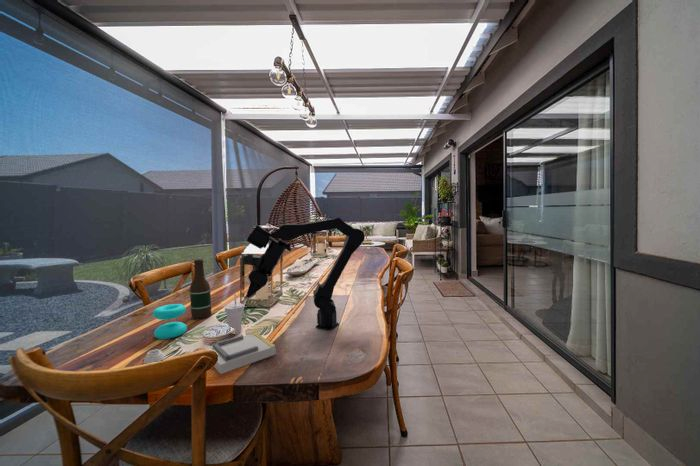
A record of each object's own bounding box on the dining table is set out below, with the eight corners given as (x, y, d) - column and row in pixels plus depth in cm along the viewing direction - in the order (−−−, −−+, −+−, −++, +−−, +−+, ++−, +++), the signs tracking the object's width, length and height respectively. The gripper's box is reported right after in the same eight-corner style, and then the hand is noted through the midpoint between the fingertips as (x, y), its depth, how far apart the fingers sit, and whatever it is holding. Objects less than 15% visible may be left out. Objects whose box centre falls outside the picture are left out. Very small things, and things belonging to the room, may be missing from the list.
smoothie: (238, 336, 102) (236, 297, 102) (221, 335, 104) (219, 296, 103) (248, 329, 109) (246, 292, 108) (232, 328, 110) (230, 291, 109)
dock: (256, 340, 99) (255, 329, 99) (275, 354, 89) (275, 343, 89) (205, 355, 89) (204, 344, 89) (220, 374, 78) (219, 361, 78)
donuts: (153, 305, 107) (185, 301, 112) (155, 332, 107) (186, 327, 113) (151, 313, 98) (186, 308, 103) (153, 342, 99) (187, 336, 104)
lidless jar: (167, 356, 89) (150, 357, 89) (167, 347, 89) (150, 348, 89) (158, 365, 84) (139, 366, 84) (157, 355, 84) (139, 356, 84)
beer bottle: (215, 315, 125) (212, 259, 124) (197, 321, 119) (194, 261, 117) (204, 312, 129) (202, 257, 128) (187, 317, 123) (183, 260, 121)
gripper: (256, 241, 113) (234, 277, 113) (247, 247, 95) (221, 289, 95) (281, 256, 115) (261, 290, 115) (277, 264, 97) (253, 305, 96)
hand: (249, 293), depth 105 cm, fingers open, 9 cm apart
